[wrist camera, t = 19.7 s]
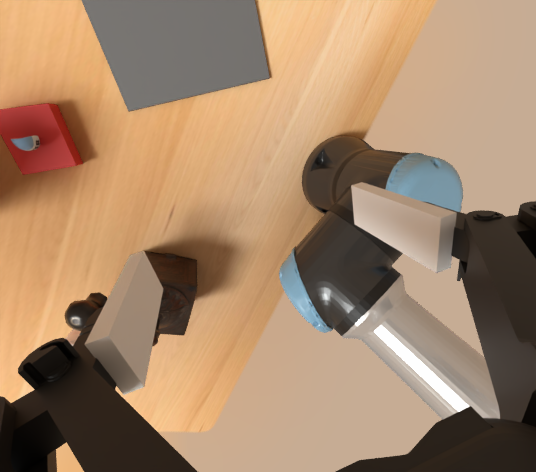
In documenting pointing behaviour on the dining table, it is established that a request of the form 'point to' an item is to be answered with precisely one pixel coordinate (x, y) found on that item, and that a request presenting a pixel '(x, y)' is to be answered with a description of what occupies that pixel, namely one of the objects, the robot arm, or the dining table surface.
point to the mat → (178, 46)
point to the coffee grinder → (172, 302)
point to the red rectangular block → (38, 138)
